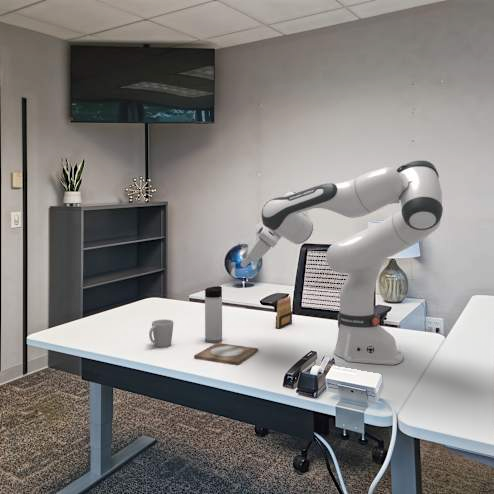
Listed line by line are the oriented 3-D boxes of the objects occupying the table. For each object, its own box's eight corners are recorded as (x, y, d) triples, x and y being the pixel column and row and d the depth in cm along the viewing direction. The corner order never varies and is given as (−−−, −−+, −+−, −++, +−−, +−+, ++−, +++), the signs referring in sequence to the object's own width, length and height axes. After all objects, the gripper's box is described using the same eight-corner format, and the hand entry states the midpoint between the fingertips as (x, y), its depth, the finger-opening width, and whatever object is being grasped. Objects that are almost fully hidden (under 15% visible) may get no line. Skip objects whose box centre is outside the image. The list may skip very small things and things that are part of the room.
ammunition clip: (279, 329, 198) (279, 299, 197) (275, 328, 199) (275, 299, 198) (292, 323, 207) (292, 295, 206) (288, 323, 208) (288, 295, 207)
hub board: (258, 351, 169) (258, 347, 169) (238, 365, 155) (238, 361, 154) (217, 345, 176) (217, 341, 176) (194, 358, 161) (194, 354, 161)
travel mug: (226, 340, 182) (226, 287, 180) (213, 344, 177) (213, 289, 176) (214, 337, 186) (214, 285, 185) (201, 340, 182) (201, 287, 180)
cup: (178, 344, 177) (177, 321, 176) (158, 351, 169) (157, 327, 168) (162, 341, 181) (162, 318, 181) (142, 347, 173) (142, 323, 172)
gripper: (261, 219, 176) (236, 248, 179) (261, 233, 156) (234, 264, 159) (274, 230, 177) (250, 258, 180) (276, 245, 157) (249, 276, 160)
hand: (242, 261), depth 169 cm, fingers open, 8 cm apart
